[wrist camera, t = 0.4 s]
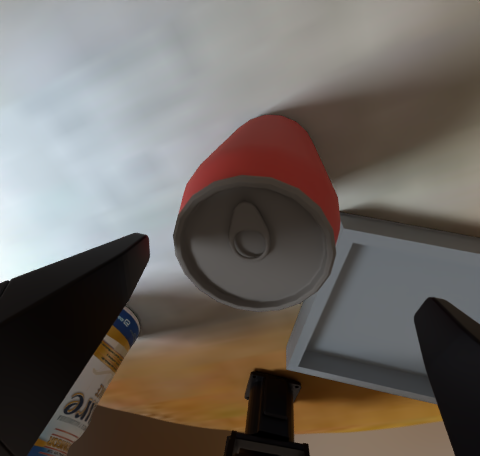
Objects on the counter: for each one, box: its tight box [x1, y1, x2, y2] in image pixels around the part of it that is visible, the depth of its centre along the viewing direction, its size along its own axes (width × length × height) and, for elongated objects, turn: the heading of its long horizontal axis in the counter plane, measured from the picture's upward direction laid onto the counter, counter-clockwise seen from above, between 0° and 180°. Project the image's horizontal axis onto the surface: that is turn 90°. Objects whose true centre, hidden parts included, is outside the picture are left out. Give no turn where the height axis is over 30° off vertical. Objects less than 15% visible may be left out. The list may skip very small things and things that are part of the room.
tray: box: [286, 212, 480, 404], centre depth 23 cm, size 18×18×3 cm
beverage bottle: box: [27, 306, 140, 456], centre depth 23 cm, size 8×8×20 cm
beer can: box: [173, 115, 340, 312], centre depth 14 cm, size 7×7×12 cm
